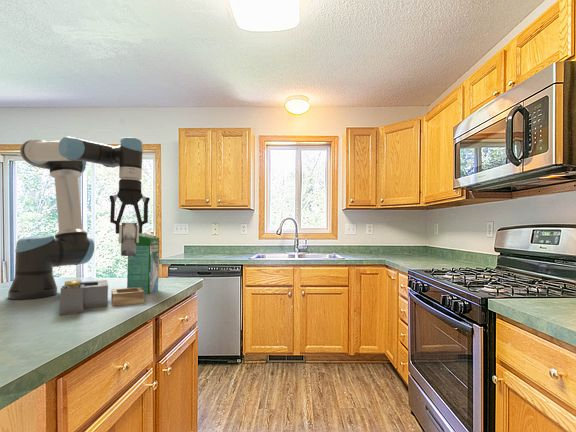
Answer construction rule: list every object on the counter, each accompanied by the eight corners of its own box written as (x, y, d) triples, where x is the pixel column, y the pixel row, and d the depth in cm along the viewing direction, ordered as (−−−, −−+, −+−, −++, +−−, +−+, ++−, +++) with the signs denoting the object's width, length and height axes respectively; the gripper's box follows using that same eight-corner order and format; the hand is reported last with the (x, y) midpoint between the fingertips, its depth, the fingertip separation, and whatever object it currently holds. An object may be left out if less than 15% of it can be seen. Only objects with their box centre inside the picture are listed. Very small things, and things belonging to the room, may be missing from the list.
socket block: (64, 302, 115) (65, 280, 116) (106, 298, 122) (107, 277, 122) (59, 315, 99) (60, 289, 99) (108, 310, 106) (108, 285, 106)
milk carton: (148, 294, 130) (150, 232, 131) (126, 294, 130) (128, 232, 131) (158, 290, 139) (159, 232, 140) (137, 290, 139) (139, 232, 140)
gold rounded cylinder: (64, 302, 104) (65, 281, 104) (80, 300, 106) (81, 280, 107) (63, 305, 100) (64, 283, 101) (80, 303, 103) (80, 282, 103)
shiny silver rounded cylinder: (120, 255, 119) (121, 222, 120) (135, 254, 122) (136, 223, 122) (121, 256, 115) (122, 222, 116) (136, 255, 118) (137, 222, 118)
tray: (111, 300, 120) (111, 289, 120) (140, 297, 125) (140, 287, 125) (112, 305, 111) (112, 294, 111) (143, 302, 116) (144, 291, 117)
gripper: (102, 176, 112) (100, 243, 111) (157, 180, 121) (156, 242, 120) (102, 179, 118) (100, 242, 117) (154, 183, 127) (153, 241, 127)
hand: (128, 242), depth 119 cm, fingers closed on shiny silver rounded cylinder, 5 cm apart
